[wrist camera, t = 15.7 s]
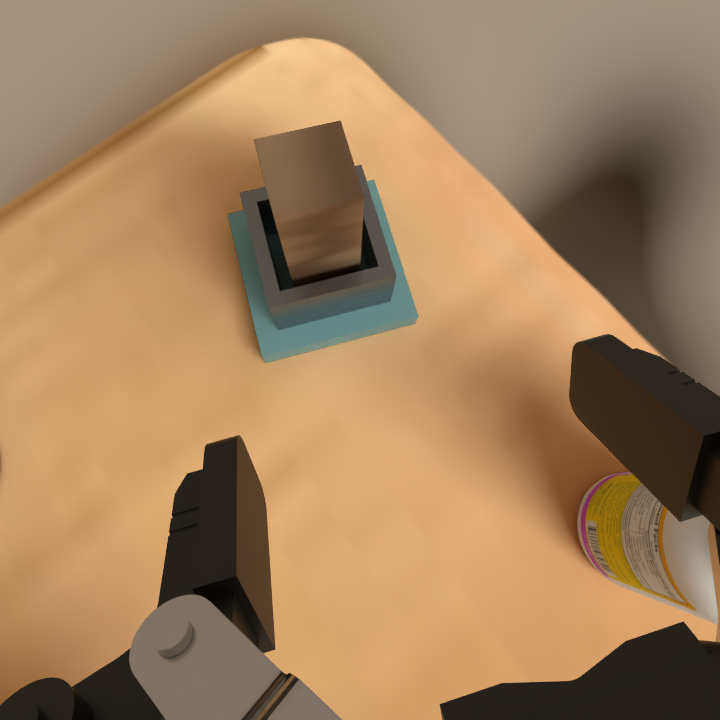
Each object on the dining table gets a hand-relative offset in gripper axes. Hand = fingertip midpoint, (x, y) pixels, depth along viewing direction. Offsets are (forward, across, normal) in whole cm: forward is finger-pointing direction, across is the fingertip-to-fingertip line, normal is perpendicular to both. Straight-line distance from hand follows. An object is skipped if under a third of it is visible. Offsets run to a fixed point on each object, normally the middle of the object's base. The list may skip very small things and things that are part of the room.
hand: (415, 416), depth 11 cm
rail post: (+21, 0, +4) cm, 21 cm away
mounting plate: (+22, 0, +5) cm, 23 cm away
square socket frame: (+21, 0, +4) cm, 21 cm away
